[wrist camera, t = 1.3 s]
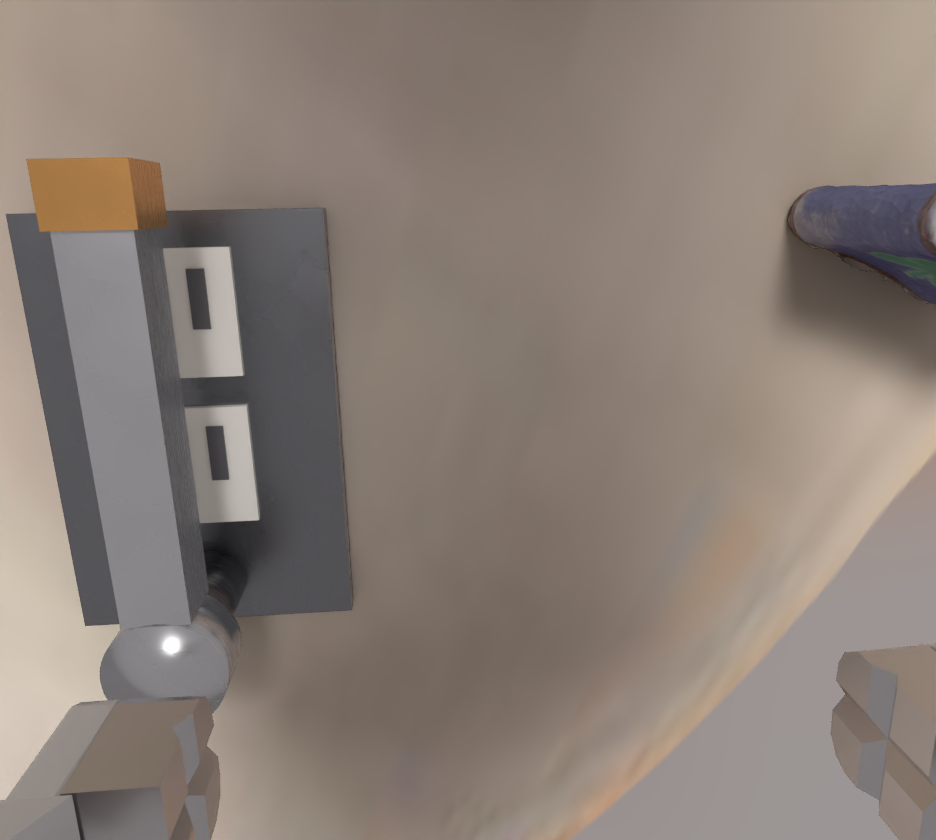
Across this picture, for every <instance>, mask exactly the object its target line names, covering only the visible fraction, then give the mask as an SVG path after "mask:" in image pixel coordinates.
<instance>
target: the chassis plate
mask: <svg viewBox="0 0 936 840" xmlns="http://www.w3.org/2000/svg"><path fill="white" fill-rule="evenodd" d="M166 215H167V223H168V227H161V228H160V231H161V239H162V246H163V248H188V247H231V253H232V262H233V271H234V280H235V289H236V299H237V308H238V317H239V326H240V335H241V345H242V354H243V363H244V372H245V375H244V376H228V377H199V378H180V380H181V387H182V394H183V402H184V407H192V406H218V405H244V404H248V409H249V418H250V427H251V436H252V446H253V455H254V464H255V473H256V482H257V492H258V501H259V510H260V519H259V520H255V521H234V522H214V523H200V528H201V535H202V542H203V550H204V552H207V551H220V552H224V553H227V554H229V555H231V556H233V557H234V558H235V559H237V560H238V561H239V562H240V563H241V565H242V566H243V568H244V570H245V573H246V577H247V583H246V588H245V590H244V592H243V595H242V597H241V600H240V602H239V604H238V607H237V609H236V611H235V614H234V617H244V616H261V615H278V614H294V613H311V612H328V611H345V610H352V603H353V591H352V577H351V563H350V549H349V535H348V521H347V507H346V493H345V479H344V465H343V451H342V437H341V423H340V409H339V395H338V381H337V367H336V354H335V340H334V326H333V312H332V298H331V284H330V270H329V256H328V242H327V228H326V214H325V208H294V209H242V210H190V211H166ZM6 217H7V223H8V228H9V233H10V238H11V243H12V249H13V254H14V259H15V264H16V269H17V274H18V280H19V285H20V290H21V295H22V300H23V306H24V311H25V316H26V321H27V326H28V332H29V337H30V342H31V347H32V352H33V357H34V363H35V368H36V373H37V378H38V383H39V389H40V394H41V399H42V404H43V409H44V415H45V420H46V425H47V430H48V435H49V440H50V446H51V451H52V456H53V461H54V466H55V472H56V477H57V482H58V487H59V492H60V498H61V503H62V508H63V513H64V518H65V523H66V529H67V534H68V539H69V544H70V549H71V555H72V560H73V565H74V570H75V575H76V581H77V586H78V591H79V596H80V601H81V606H82V612H83V617H84V622H85V626H92V625H108V624H119V618H118V612H117V607H116V601H115V596H114V590H113V584H112V579H111V573H110V567H109V562H108V556H107V550H106V545H105V539H104V533H103V528H102V522H101V517H100V511H99V505H98V500H97V494H96V488H95V483H94V477H93V471H92V466H91V460H90V454H89V449H88V443H87V438H86V432H85V426H84V421H83V415H82V409H81V404H80V398H79V392H78V387H77V381H76V375H75V370H74V364H73V359H72V353H71V347H70V342H69V336H68V330H67V325H66V319H65V313H64V308H63V302H62V296H61V291H60V285H59V280H58V274H57V268H56V263H55V257H54V251H53V246H52V240H51V234H50V231H48V232H40V231H39V225H38V220H37V214H36V213H33V214H6Z"/></svg>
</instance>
